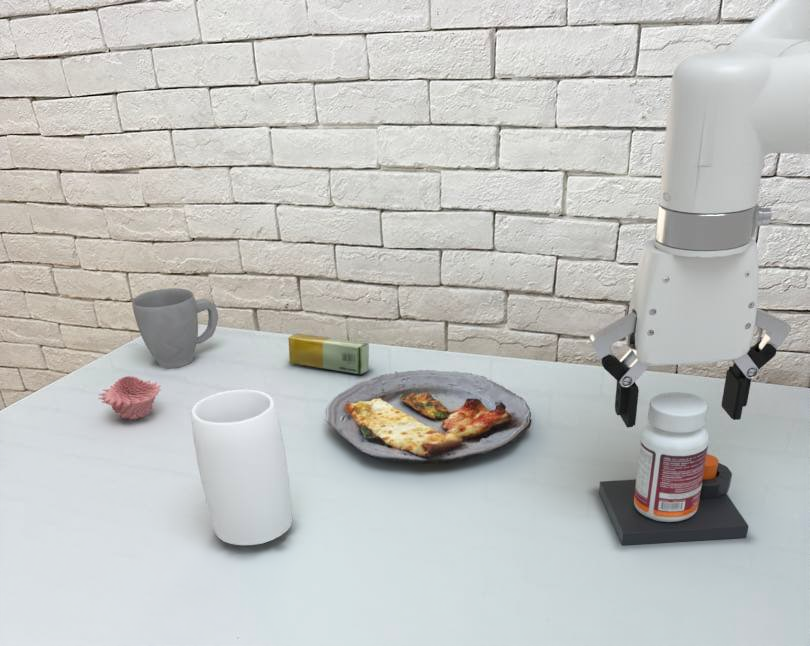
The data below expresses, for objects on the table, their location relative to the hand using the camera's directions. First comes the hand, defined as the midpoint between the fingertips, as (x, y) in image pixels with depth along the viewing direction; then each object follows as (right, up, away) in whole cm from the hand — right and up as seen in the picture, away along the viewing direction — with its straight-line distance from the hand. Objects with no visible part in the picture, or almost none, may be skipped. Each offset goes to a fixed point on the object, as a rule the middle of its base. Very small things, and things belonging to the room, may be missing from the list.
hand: (678, 417), depth 79 cm
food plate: (-23, +2, +26) cm, 35 cm away
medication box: (-36, +13, +44) cm, 58 cm away
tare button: (+5, -5, +8) cm, 11 cm away
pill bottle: (0, -8, +6) cm, 10 cm away
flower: (-61, +5, +33) cm, 69 cm away
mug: (-58, +16, +49) cm, 78 cm away
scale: (+1, -9, +7) cm, 11 cm away
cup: (-41, -11, +8) cm, 43 cm away
